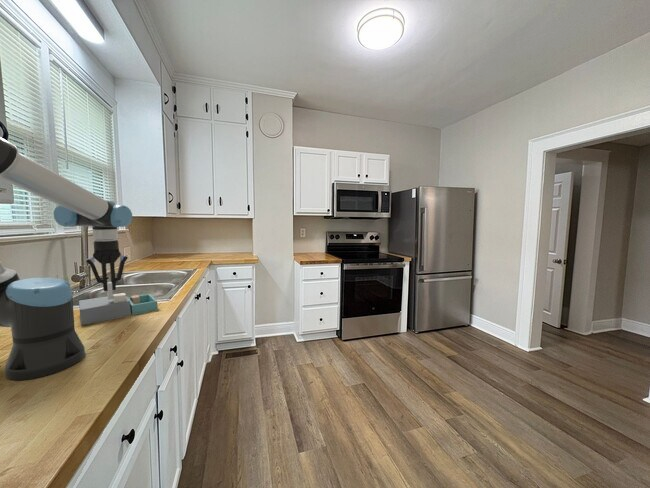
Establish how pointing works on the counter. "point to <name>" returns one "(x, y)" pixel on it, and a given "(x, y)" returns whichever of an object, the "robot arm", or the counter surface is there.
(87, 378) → the counter surface
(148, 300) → the bin
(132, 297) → the terracotta tile
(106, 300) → the grey flat block
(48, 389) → the counter surface
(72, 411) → the counter surface
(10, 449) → the counter surface
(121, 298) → the cream tile
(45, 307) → the robot arm
